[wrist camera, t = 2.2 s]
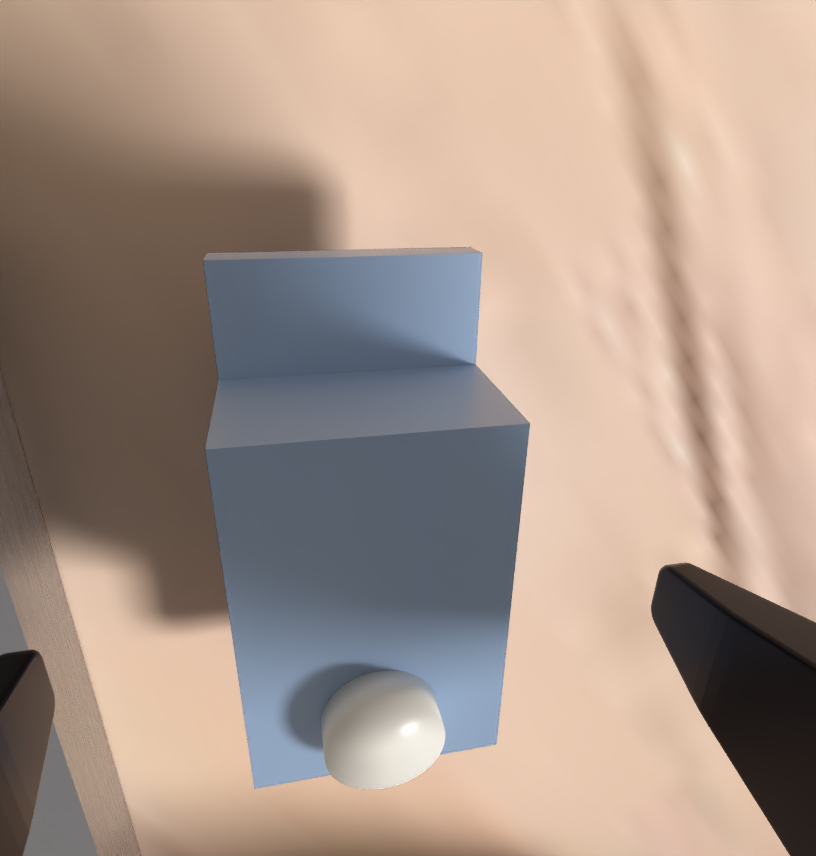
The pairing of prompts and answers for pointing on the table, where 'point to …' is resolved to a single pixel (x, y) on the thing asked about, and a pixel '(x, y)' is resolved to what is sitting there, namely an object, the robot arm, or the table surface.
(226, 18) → the table surface
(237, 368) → the servo
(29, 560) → the chassis plate
